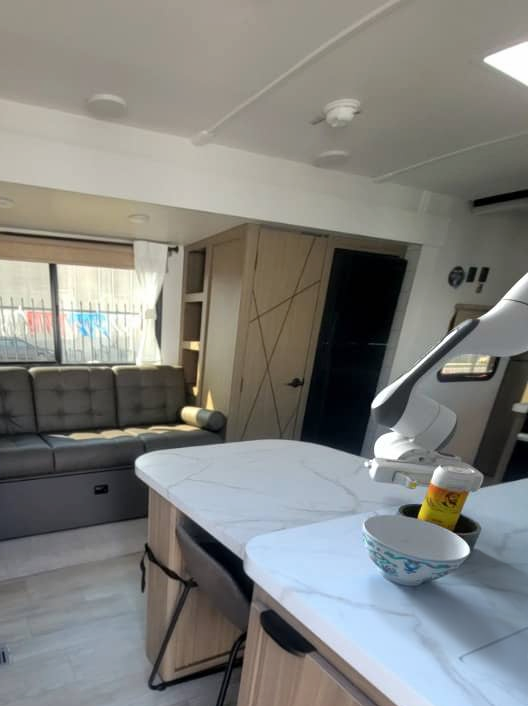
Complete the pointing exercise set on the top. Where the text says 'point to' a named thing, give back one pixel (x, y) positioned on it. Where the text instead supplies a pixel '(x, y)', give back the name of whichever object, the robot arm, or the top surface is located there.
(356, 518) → the top surface
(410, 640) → the top surface
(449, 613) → the top surface
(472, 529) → the dark green bowl
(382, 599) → the top surface
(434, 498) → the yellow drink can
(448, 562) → the chinaware
